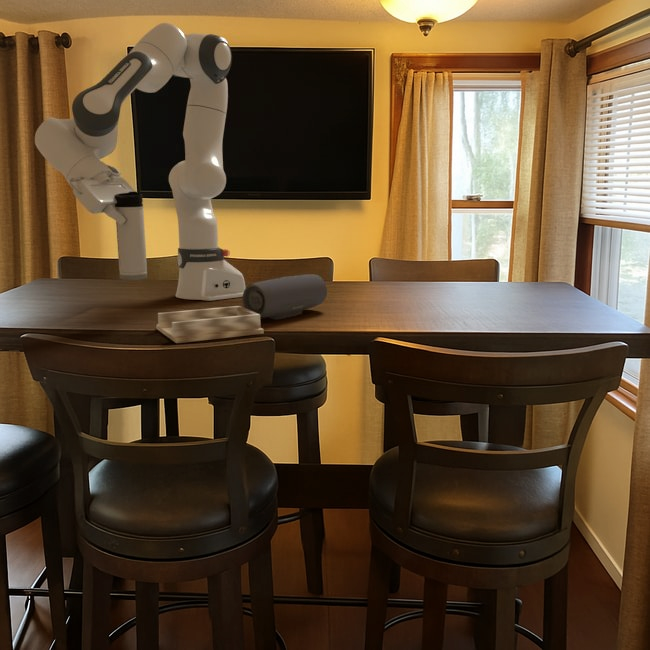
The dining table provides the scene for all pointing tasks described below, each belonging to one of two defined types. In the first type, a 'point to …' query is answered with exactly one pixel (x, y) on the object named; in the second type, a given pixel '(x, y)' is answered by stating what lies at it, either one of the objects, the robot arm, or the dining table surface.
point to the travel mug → (131, 237)
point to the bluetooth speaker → (284, 295)
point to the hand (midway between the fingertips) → (132, 221)
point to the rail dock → (209, 324)
